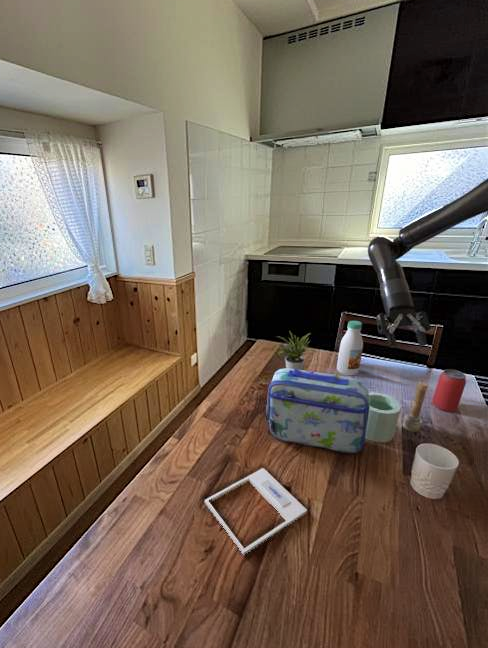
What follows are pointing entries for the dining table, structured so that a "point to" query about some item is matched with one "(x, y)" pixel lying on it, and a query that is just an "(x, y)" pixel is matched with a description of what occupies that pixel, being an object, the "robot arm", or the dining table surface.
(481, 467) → the dining table surface
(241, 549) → the photo frame
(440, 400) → the beer can
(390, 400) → the jar
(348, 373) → the milk bottle
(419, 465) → the white cup
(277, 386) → the lunch box
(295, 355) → the house plant
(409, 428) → the brush
